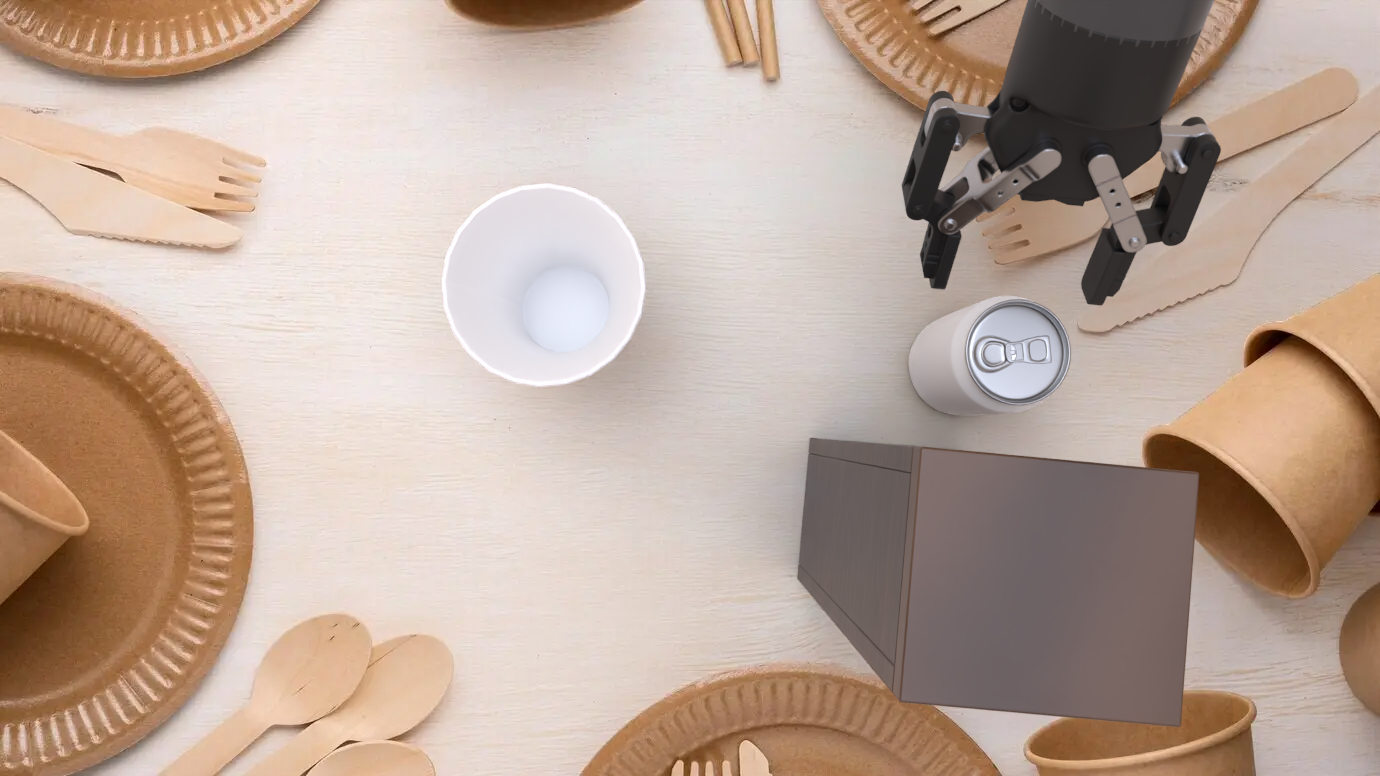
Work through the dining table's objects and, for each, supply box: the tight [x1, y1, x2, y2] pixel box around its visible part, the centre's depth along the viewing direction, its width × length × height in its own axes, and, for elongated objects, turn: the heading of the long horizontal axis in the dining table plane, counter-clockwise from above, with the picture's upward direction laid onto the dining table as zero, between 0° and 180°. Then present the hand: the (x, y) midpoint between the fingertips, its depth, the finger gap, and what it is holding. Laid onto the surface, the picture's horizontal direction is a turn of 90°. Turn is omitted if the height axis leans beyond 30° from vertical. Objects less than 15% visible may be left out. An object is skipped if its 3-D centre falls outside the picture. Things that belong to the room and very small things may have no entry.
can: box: [908, 295, 1072, 416], centre depth 62 cm, size 6×6×12 cm
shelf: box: [892, 445, 1200, 728], centre depth 38 cm, size 10×9×1 cm
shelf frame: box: [797, 437, 916, 694], centre depth 53 cm, size 10×9×29 cm
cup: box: [440, 182, 648, 388], centre depth 60 cm, size 10×10×14 cm
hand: (1013, 288), depth 57 cm, fingers open, 8 cm apart
